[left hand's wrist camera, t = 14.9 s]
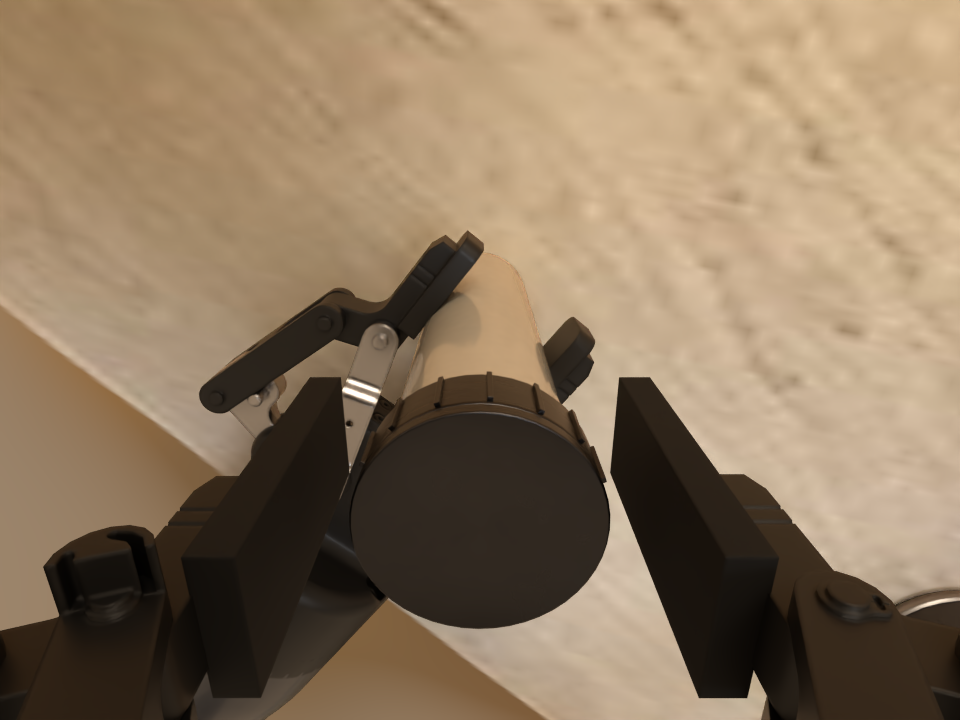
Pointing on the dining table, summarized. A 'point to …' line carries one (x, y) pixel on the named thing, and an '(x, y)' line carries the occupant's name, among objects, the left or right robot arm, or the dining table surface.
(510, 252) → the dining table surface
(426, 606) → the lid
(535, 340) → the beige long cylinder
